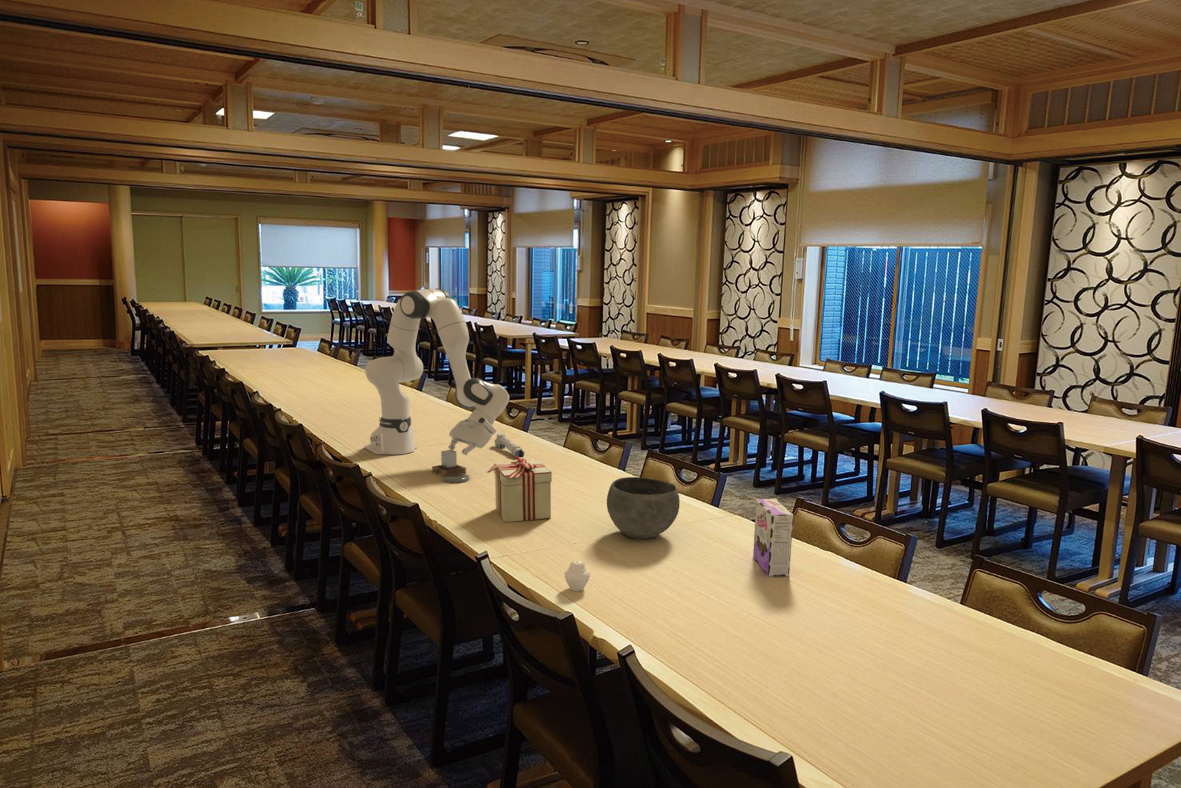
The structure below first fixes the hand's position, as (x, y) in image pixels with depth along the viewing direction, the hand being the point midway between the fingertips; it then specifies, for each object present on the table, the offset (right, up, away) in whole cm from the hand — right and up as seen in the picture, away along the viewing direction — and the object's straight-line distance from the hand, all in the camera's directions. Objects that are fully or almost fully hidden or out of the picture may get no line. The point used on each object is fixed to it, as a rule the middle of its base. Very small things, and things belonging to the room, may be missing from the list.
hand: (456, 451), depth 296 cm
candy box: (+96, -24, -88) cm, 133 cm away
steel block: (-3, -8, -1) cm, 8 cm away
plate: (+2, -9, -11) cm, 14 cm away
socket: (-3, -8, -1) cm, 8 cm away
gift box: (+27, -16, -49) cm, 59 cm away
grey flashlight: (+16, -3, +34) cm, 38 cm away
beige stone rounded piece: (+46, -25, -105) cm, 118 cm away
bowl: (+64, -20, -66) cm, 94 cm away
